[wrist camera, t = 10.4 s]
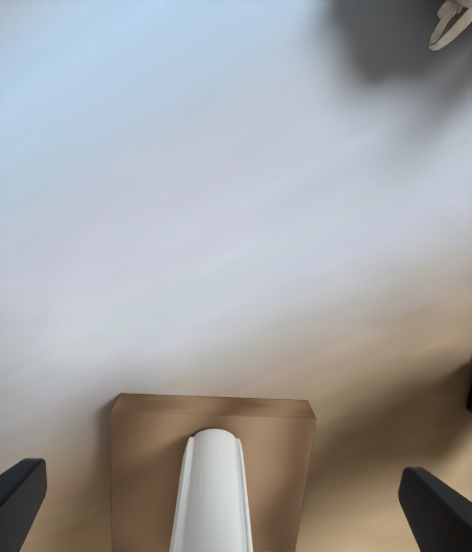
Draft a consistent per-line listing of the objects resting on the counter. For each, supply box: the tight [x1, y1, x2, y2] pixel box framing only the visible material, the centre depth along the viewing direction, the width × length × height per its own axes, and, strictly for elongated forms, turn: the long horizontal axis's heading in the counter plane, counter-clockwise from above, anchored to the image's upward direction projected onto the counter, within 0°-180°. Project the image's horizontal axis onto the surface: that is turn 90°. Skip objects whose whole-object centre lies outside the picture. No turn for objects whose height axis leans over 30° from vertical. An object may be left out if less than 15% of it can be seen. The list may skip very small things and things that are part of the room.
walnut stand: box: [111, 393, 316, 552], centre depth 21 cm, size 14×12×2 cm
